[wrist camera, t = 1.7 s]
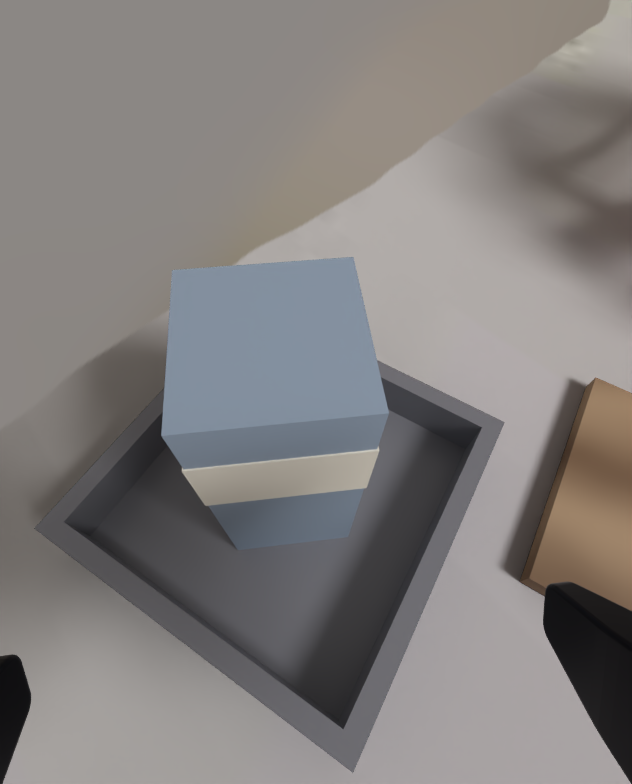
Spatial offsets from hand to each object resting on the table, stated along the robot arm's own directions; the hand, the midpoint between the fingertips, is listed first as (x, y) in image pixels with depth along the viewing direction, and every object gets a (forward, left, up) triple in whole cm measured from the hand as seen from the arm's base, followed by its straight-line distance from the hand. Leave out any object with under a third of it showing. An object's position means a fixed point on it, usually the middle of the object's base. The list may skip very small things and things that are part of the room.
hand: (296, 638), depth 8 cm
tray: (+5, +4, -13) cm, 14 cm away
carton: (+5, +4, -12) cm, 14 cm away
